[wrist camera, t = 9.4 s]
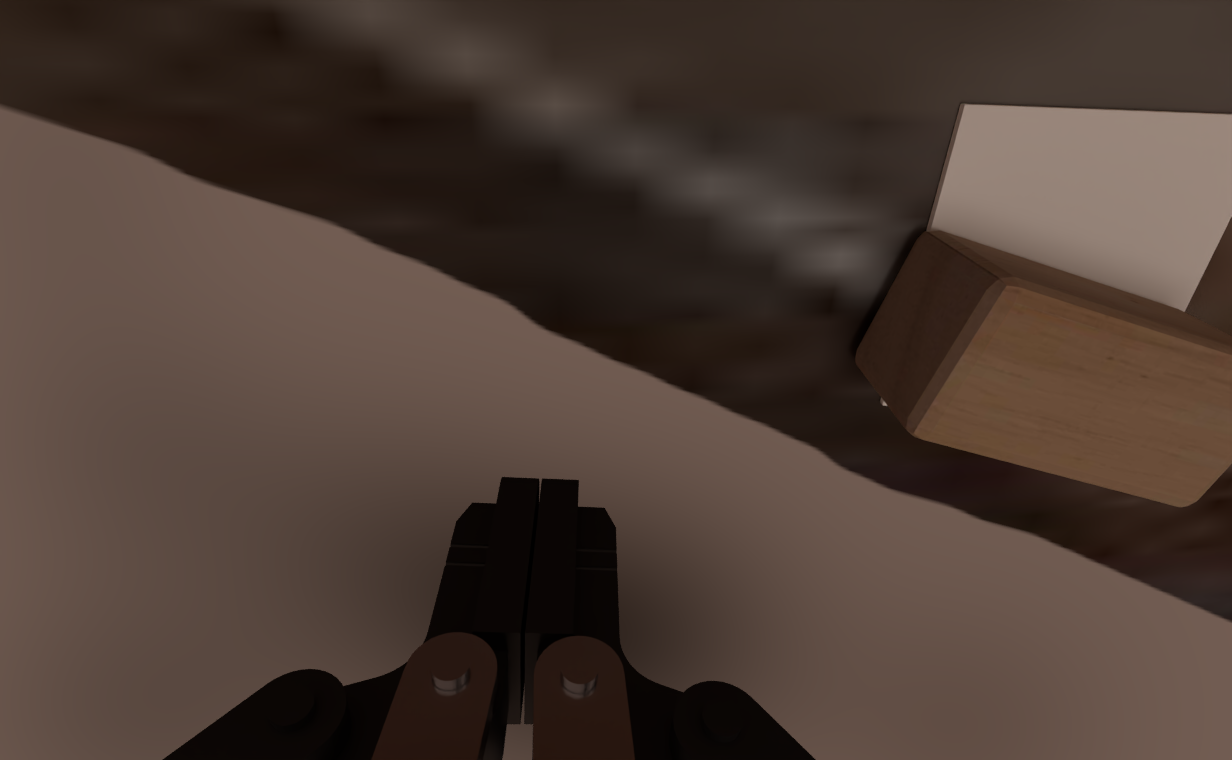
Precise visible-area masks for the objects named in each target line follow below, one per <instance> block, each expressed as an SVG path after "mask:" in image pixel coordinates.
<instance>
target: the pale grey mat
mask: <svg viewBox="0 0 1232 760" xmlns="http://www.w3.org/2000/svg"><path fill="white" fill-rule="evenodd" d="M1231 216H1232V114H1225V113H1199V112H1173V111H1147V110H1121V109H1095V108H1069V107H1042V106H1016V105H990V104H964V103H961V104H960V108H959V111H958V115H957V119H956V122H955V126H954V130H953V133H952V137H951V141H950V145H949V148H948V152H947V156H946V159H945V163H944V167H943V170H942V174H941V178H940V182H939V185H938V189H937V193H936V196H935V200H934V204H933V207H932V211H931V215H930V218H929V222H928V226H927V230H926V231H939V230H941V231H944V232H947V233H950V234H953V235H956V236H959V237H962V238H965V239H968V240H971V241H974V242H977V243H980V244H983V245H986V246H989V247H992V248H995V249H998V250H1001V251H1004V252H1007V253H1010V254H1013V255H1016V256H1020V257H1023V258H1026V259H1029V260H1032V261H1035V262H1038V263H1041V264H1044V265H1047V266H1050V267H1053V268H1056V269H1059V270H1062V271H1065V272H1068V273H1071V274H1074V275H1077V276H1080V277H1083V278H1086V279H1089V280H1092V281H1095V282H1098V283H1101V284H1104V285H1107V286H1110V287H1113V288H1116V289H1119V290H1122V291H1125V292H1128V293H1131V294H1134V295H1137V296H1140V297H1144V298H1147V299H1150V300H1153V301H1156V302H1159V303H1162V304H1165V305H1168V306H1171V307H1174V308H1177V309H1179V310H1181V311H1183V312H1185V310H1186V308H1187V306H1188V304H1189V302H1190V300H1191V298H1192V296H1193V294H1194V292H1195V289H1196V287H1197V285H1198V283H1199V281H1200V279H1201V277H1202V275H1203V273H1204V271H1205V269H1206V267H1207V265H1208V263H1209V261H1210V259H1211V257H1212V255H1213V253H1214V251H1215V249H1216V247H1217V245H1218V243H1219V241H1220V239H1221V237H1222V235H1223V233H1224V231H1225V229H1226V227H1227V224H1228V222H1229V220H1230V218H1231ZM880 403H881V404H882V405H885V406H888V405H887V404H886V403H885V402H884V400H883V399H882V398H881V400H880Z"/></svg>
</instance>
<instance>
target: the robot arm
mask: <svg viewBox="0 0 1232 760" xmlns="http://www.w3.org/2000/svg"><path fill="white" fill-rule="evenodd" d="M578 487H579V480H563V479H542V483H541V492H540V501H539V479H535V478H512V477H502V479H501V482H500V487H499V492H498V498H497V503H496V504H491V503H472V504H471V505H470V506H469V507H468V509H467V510H466V511H465V512H464V513H463V514H462V515H461V517H460V518H459V519H458V520H457V521H456V525H455V529H454V533H453V536H452V540H451V547H450V548H449V552H448V556H447V560H446V566H445V567H444V571H443V575H442V579H441V583H440V587H439V591H438V595H437V598H436V602H435V606H434V610H433V614H432V618H431V622H430V626H429V630H428V633H427V636H426V639H425V641H424V643H423V644H422V645H421V646H420V647H418V648H417V649H416V650H415V652H414V653H413V654H412V655H411V657H410V658H409V660H408V662H406V663H405V664H404V665H402V666H401V667H399V668H397V669H396V670H394V671H392V672H390V673H387V674H385V675H382V676H379V677H376V678H372V679H369V680H365V681H361V682H357V683H354V684H350V685H346V686H343V685H342V683H341V682H340V681H339V680H338V679H337V678H336V677H334V676H333V675H332V674H330V673H328V672H326V671H321V670H315V669H305V670H298V671H293V672H290V673H287V674H284V675H282V676H280V677H278V678H276V679H274V680H273V681H271V682H269V683H268V684H266V685H265V686H264V687H262V688H261V689H260V690H258V691H257V692H255V693H254V694H253V695H251V696H250V697H249V698H247V699H246V700H244V701H243V702H241V703H240V704H239V705H237V706H236V707H235V708H233V709H232V710H231V711H229V712H228V713H227V714H225V715H224V716H223V717H221V718H219V719H218V720H217V721H216V722H214V723H213V724H211V725H210V726H208V727H207V728H206V729H204V730H203V731H202V732H200V733H199V734H197V735H196V736H195V737H193V738H192V739H190V740H189V741H188V742H186V743H185V744H184V745H182V746H181V747H179V748H178V749H177V750H175V751H174V752H172V753H171V754H170V755H168V756H167V757H166V758H164V759H163V760H502V758H503V752H504V743H505V736H506V727H507V724H520V723H521V712H522V704H523V694H524V684H525V716H524V722H525V723H524V724H533V751H532V752H533V753H532V760H815V759H814V758H813V757H812V756H811V755H810V754H809V753H808V752H807V751H806V750H805V749H804V748H803V747H802V746H801V745H800V744H799V743H798V742H797V741H796V740H795V739H794V738H793V737H792V736H791V735H790V734H789V733H788V732H787V731H786V730H785V729H783V728H782V727H781V726H780V725H779V724H778V723H777V722H776V721H775V720H774V719H773V718H772V717H771V716H770V715H769V714H768V713H767V712H766V711H765V710H764V709H763V708H762V707H761V706H760V705H759V704H758V703H757V702H756V701H754V700H753V699H752V697H750V696H749V695H748V694H747V693H746V692H744V691H743V690H741V689H739V688H738V687H735V686H733V685H731V684H728V683H725V682H719V681H706V682H700V683H698V684H695V685H693V686H691V687H690V688H688V689H687V690H686V691H685V692H681V691H678V690H675V689H672V688H669V687H666V686H663V685H660V684H658V683H655V682H653V681H651V680H649V679H647V678H645V677H644V676H642V675H641V674H640V673H638V672H637V671H636V670H635V669H634V668H633V667H632V666H631V665H630V664H629V662H628V660H627V659H626V657H625V655H624V653H623V651H622V648H621V645H620V638H619V608H618V581H617V580H618V579H617V554H616V527H615V525H614V524H613V522H612V520H611V518H610V517H609V515H608V513H607V511H606V510H605V508H595V507H578Z"/></svg>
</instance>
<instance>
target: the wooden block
mask: <svg viewBox="0 0 1232 760" xmlns="http://www.w3.org/2000/svg"><path fill="white" fill-rule="evenodd" d="M855 363H856V365H857V366H858V367H859V369H860V370H861V371H862V373H863V374H864V375H865V377H866V378H867V379H868V381H869V382H870V383H871V384H872V386H873V387H874V388H875V390H876V391H877V392H878V394H879V395H880V396H881V398H882V399H883V400H884V402H885V403H886V404H887V405H888V407H889V408H890V409H891V411H892V412H893V413H894V415H895V416H896V417H897V419H898V420H899V421H900V423H901V424H902V425H903V426H904V428H905V429H906V430H907V431H908V432H909V433H911V434H912V435H913V436H914V437H917V438H920V439H922V440H926V441H930V442H934V443H938V444H941V445H945V446H949V447H953V448H957V449H960V450H964V451H968V452H972V453H976V454H979V455H983V456H987V457H991V458H995V459H998V460H1002V461H1006V462H1010V463H1014V464H1017V465H1021V466H1025V467H1029V468H1033V469H1036V470H1040V471H1044V472H1048V473H1052V474H1056V475H1059V476H1063V477H1067V478H1071V479H1075V480H1078V481H1082V482H1086V483H1090V484H1094V485H1097V486H1101V487H1105V488H1109V489H1113V490H1116V491H1120V492H1124V493H1128V494H1132V495H1135V496H1139V497H1143V498H1147V499H1151V500H1154V501H1158V502H1162V503H1166V504H1170V505H1173V506H1177V507H1185V506H1189V505H1190V504H1192V503H1194V502H1196V501H1198V499H1199V498H1200V497H1201V496H1202V495H1203V494H1204V493H1205V492H1206V491H1207V490H1208V489H1209V488H1210V487H1211V485H1212V484H1213V483H1214V482H1215V481H1216V480H1217V479H1218V478H1219V477H1220V476H1221V475H1222V474H1223V472H1224V471H1225V470H1226V469H1227V468H1228V467H1229V466H1230V465H1231V464H1232V336H1230V335H1228V334H1226V333H1225V332H1223V331H1221V330H1219V329H1217V328H1215V327H1213V326H1211V325H1209V324H1207V323H1205V322H1203V321H1201V320H1199V319H1197V318H1195V317H1193V316H1191V315H1189V314H1187V313H1185V312H1183V311H1181V310H1179V309H1177V308H1174V307H1171V306H1168V305H1165V304H1162V303H1159V302H1156V301H1153V300H1150V299H1147V298H1144V297H1140V296H1137V295H1134V294H1131V293H1128V292H1125V291H1122V290H1119V289H1116V288H1113V287H1110V286H1107V285H1104V284H1101V283H1098V282H1095V281H1092V280H1089V279H1086V278H1083V277H1080V276H1077V275H1074V274H1071V273H1068V272H1065V271H1062V270H1059V269H1056V268H1053V267H1050V266H1047V265H1044V264H1041V263H1038V262H1035V261H1032V260H1029V259H1026V258H1023V257H1020V256H1016V255H1013V254H1010V253H1007V252H1004V251H1001V250H998V249H995V248H992V247H989V246H986V245H983V244H980V243H977V242H974V241H971V240H968V239H965V238H962V237H959V236H956V235H953V234H950V233H947V232H944V231H941V230H939V231H924V232H923V233H922V234H921V235H920V236H919V237H918V238H917V240H916V242H915V243H914V245H913V247H912V249H911V251H910V253H909V254H908V256H907V258H906V260H905V262H904V264H903V265H902V267H901V269H900V271H899V273H898V275H897V277H896V278H895V280H894V282H893V284H892V286H891V288H890V289H889V291H888V293H887V295H886V297H885V299H884V300H883V302H882V304H881V306H880V308H879V310H878V312H877V313H876V315H875V317H874V319H873V321H872V323H871V324H870V326H869V328H868V330H867V332H866V334H865V335H864V337H863V339H862V341H861V343H860V345H859V347H858V348H857V351H856V357H855Z"/></svg>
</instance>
